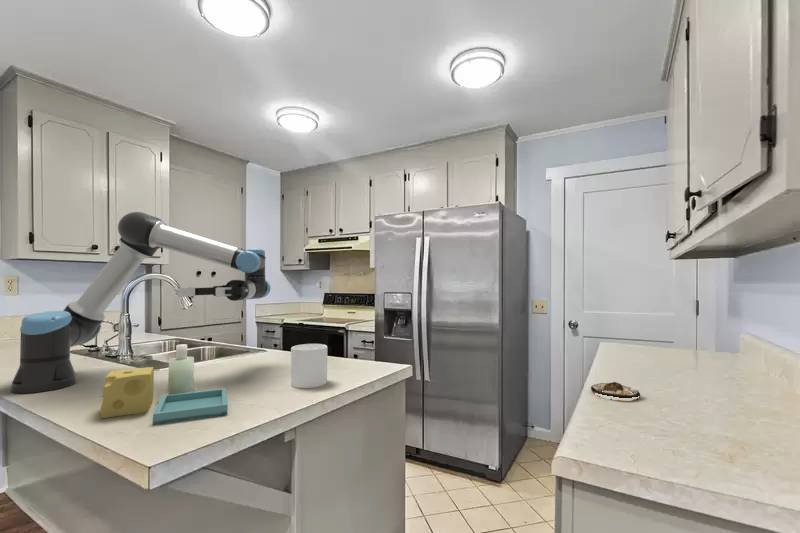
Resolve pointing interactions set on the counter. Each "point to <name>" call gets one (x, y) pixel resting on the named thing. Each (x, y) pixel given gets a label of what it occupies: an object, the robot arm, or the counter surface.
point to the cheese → (127, 392)
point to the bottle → (181, 372)
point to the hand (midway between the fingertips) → (197, 292)
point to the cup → (308, 365)
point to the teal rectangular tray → (190, 406)
